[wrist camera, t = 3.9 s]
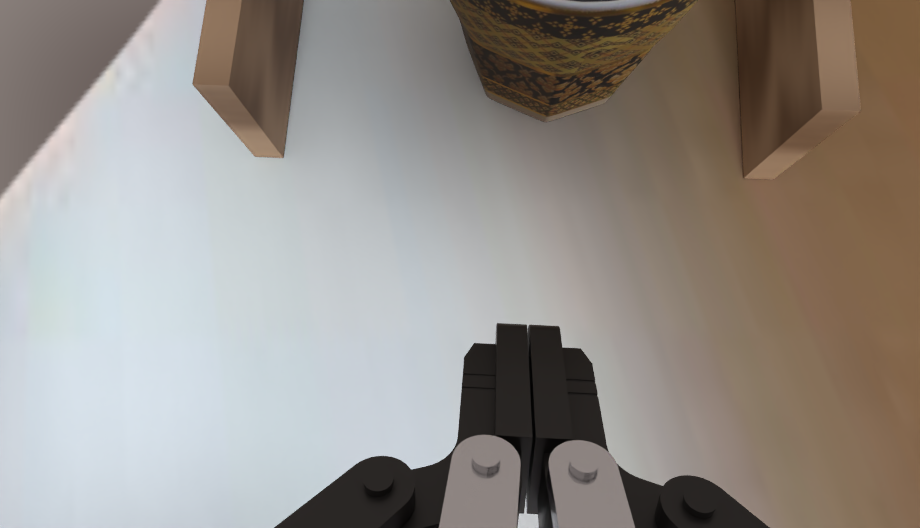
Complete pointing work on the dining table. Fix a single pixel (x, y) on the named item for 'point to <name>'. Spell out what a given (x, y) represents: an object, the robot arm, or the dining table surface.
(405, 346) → the dining table surface
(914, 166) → the dining table surface
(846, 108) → the walnut lane
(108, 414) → the dining table surface
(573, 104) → the ceramic cup
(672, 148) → the dining table surface
